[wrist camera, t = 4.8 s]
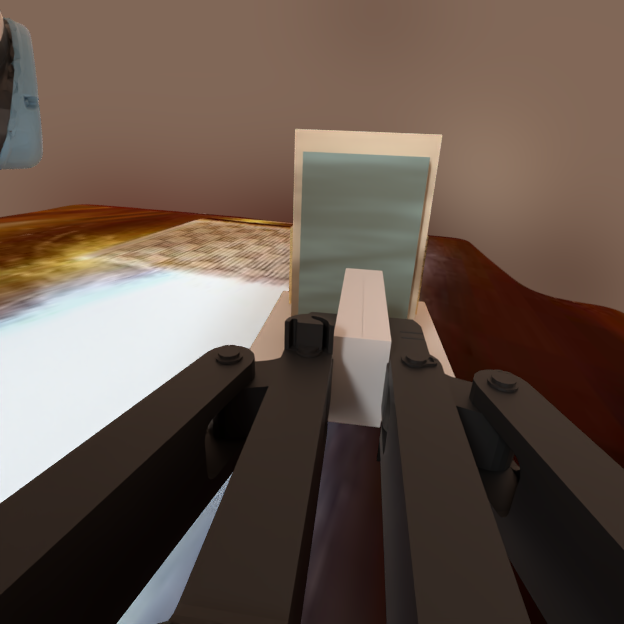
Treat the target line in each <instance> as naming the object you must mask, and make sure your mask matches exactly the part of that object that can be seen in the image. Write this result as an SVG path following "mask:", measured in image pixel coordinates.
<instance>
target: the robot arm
mask: <svg viewBox="0 0 624 624" xmlns="http://www.w3.org/2000/svg"><path fill="white" fill-rule="evenodd" d="M38 100H39V99H38V91H37V78H36V70H35V62H34V55H33V47H32V40H31V36H30V32H29V31H28V29H27V28H26V27H25V26H24V25H22V24H20V23H17V22H14V21H13V20H11V19H10V18H3V17H2V14H1V11H0V170H1V169H23V168H31V167H34V166H35V165H37V164H38V163H39V161H40V160H41V158H42V155H43V143H42V131H41V118H40V109H39V104H38ZM381 417H382V425H381V433H380V440H379V448H378V455H377V461H380V462H381V486H382V512H383V537H384V563H385V589H386V615H387V624H531V622H530V620H529V617H528V614H527V611H526V608H525V605H524V602H523V599H522V596H521V593H520V591H519V588H518V585H517V582H516V579H515V576H514V573H513V570H512V567H511V564H510V561H511V563H512V564H513V566H514V568H515V569H516V571H517V573H518V574H519V576H520V578H521V580H522V581H523V583H524V585H525V586H526V588H527V590H528V591H529V593H530V595H531V596H532V598H533V600H534V601H535V603H536V605H537V607H538V608H539V610H540V612H541V613H542V615H543V617H544V618H545V620H546V622H547V623H548V624H624V469H623V468H622V467H621V466H620V465H618V464H617V463H616V462H615V461H614V460H613V459H612V458H611V457H610V456H608V455H607V454H606V453H605V452H604V451H603V450H602V449H601V448H600V447H598V446H597V445H596V444H595V443H594V442H593V441H592V440H591V439H590V438H588V437H587V436H586V435H585V434H584V433H583V432H582V431H581V430H580V429H578V428H577V427H576V426H575V425H574V424H573V423H572V422H571V421H570V420H568V419H567V418H566V417H565V416H564V415H563V414H562V413H561V412H560V411H558V410H557V409H556V408H555V407H554V406H553V405H552V404H551V403H550V402H548V401H547V400H546V399H545V398H544V397H543V396H542V395H541V394H540V393H538V392H537V391H536V390H535V389H534V388H533V387H532V386H531V385H530V384H528V383H527V382H526V381H524V380H523V379H521V378H520V377H517V376H515V375H513V374H511V373H509V372H506V371H504V372H503V371H502V370H482V371H479V372H477V373H475V375H474V379H473V383H472V382H468V381H464V380H461V379H457V378H454V377H451V376H449V375H447V374H445V373H444V370H443V367H442V364H441V363H440V361H439V360H438V359H437V358H435V357H434V356H432V355H430V354H429V350H428V347H427V344H426V341H425V337H424V335H423V331H422V328H421V326H420V325H419V324H418V323H417V322H415V321H414V320H412V319H401V318H389V317H388V311H387V303H386V295H385V287H384V279H383V272H382V271H378V270H365V269H352V268H346V270H345V276H344V281H343V287H342V292H341V297H340V303H339V308H338V314H332V313H321V312H310V313H309V314H299V315H294V316H291V317H289V318H287V319H286V320H285V335H284V351H283V353H282V356H281V357H280V358H277V359H273V360H266V361H255V356H254V353H253V352H252V351H251V350H250V349H248V348H245V347H242V346H236V345H230V346H229V345H225V346H222V347H218V348H214V349H212V350H210V351H209V352H207V353H206V354H204V355H203V356H201V357H200V358H199V359H197V360H196V361H195V362H193V363H192V364H190V365H189V366H188V367H186V368H185V369H184V370H182V371H181V372H180V373H178V374H177V375H175V376H174V377H173V378H171V379H170V380H169V381H167V382H166V383H164V384H163V385H162V386H160V387H159V388H158V389H156V390H155V391H154V392H152V393H151V394H149V395H148V396H147V397H145V398H144V399H143V400H141V401H140V402H138V403H137V404H136V405H134V406H133V407H132V408H130V409H129V410H127V411H126V412H125V413H123V414H122V415H121V416H119V417H118V418H117V419H115V420H114V421H112V422H111V423H110V424H108V425H107V426H106V427H104V428H103V429H101V430H100V431H99V432H97V433H96V434H95V435H93V436H92V437H91V438H89V439H88V440H86V441H85V442H84V443H82V444H81V445H80V446H78V447H77V448H75V449H74V450H73V451H71V452H70V453H69V454H67V455H66V456H65V457H63V458H62V459H60V460H59V461H58V462H56V463H55V464H54V465H52V466H51V467H49V468H48V469H47V470H45V471H44V472H43V473H41V474H40V475H39V476H37V477H36V478H34V479H33V480H32V481H30V482H29V483H28V484H26V485H25V486H23V487H22V488H21V489H19V490H18V491H17V492H15V493H14V494H13V495H11V496H10V497H8V498H7V499H6V500H4V501H3V502H2V503H0V624H117V622H118V621H119V620H120V618H121V617H122V616H123V614H124V613H125V612H126V611H127V609H128V608H129V607H130V605H131V604H132V603H133V601H134V600H135V599H136V598H137V596H138V595H139V594H140V592H141V591H142V590H143V588H144V587H145V586H146V584H147V583H148V582H149V581H150V579H151V578H152V577H153V575H154V574H155V573H156V571H157V570H158V569H159V568H160V566H161V565H162V564H163V562H164V561H165V560H166V558H167V557H168V556H169V555H170V553H171V552H172V551H173V549H174V548H175V547H176V545H177V544H178V543H179V541H180V540H181V539H182V538H183V536H184V535H185V534H186V532H187V531H188V530H189V528H190V527H191V526H192V525H193V523H194V522H195V521H196V519H197V518H198V517H199V515H200V514H201V513H202V511H203V510H204V509H205V508H206V506H207V505H208V504H209V502H210V501H211V500H212V498H213V497H214V496H215V495H216V493H217V492H218V491H219V489H220V488H221V487H222V485H223V484H224V483H225V482H226V480H227V479H228V478H229V476H230V475H231V474H232V476H231V478H230V481H229V483H228V485H227V488H226V490H225V493H224V495H223V497H222V500H221V502H220V505H219V507H218V509H217V512H216V514H215V517H214V519H213V521H212V524H211V526H210V529H209V531H208V533H207V536H206V538H205V541H204V543H203V546H202V548H201V550H200V553H199V555H198V558H197V560H196V562H195V565H194V567H193V570H192V572H191V574H190V577H189V579H188V582H187V584H186V586H185V589H184V591H183V594H182V596H181V598H180V601H179V603H178V605H177V607H176V609H175V611H174V613H173V615H172V616H171V618H170V619H169V620H168V621H165V622H162V623H158V624H300V623H301V616H302V609H303V602H304V594H305V587H306V580H307V573H308V566H309V559H310V551H311V544H312V537H313V530H314V523H315V515H316V508H317V501H318V494H319V487H320V480H321V472H322V465H323V458H324V451H325V444H326V437H327V426H328V421H329V422H337V423H346V424H354V425H363V426H371V427H380V423H381ZM514 454H515V455H516V457H517V459H518V462H519V465H520V467H519V466H518V465H517V464H516V463H515V462H514V460H513V458H514ZM232 472H233V473H232ZM508 558H509V559H510V561H509V559H508Z"/></svg>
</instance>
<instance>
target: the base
mask: <svg viewBox="0 0 624 624" xmlns="http://www.w3.org/2000/svg"><path fill="white" fill-rule="evenodd" d="M289 317H291V304H289V291H283V293H282V294H281V296H280V298H279V299H278V301H277V303H276V305H275V306H274V308H273V310H272V311H271V313H270V315H269V317H268V318H267V320H266V322H265V324H264V325H263V327H262V329H261V330H260V332H259V334H258V336H257V337H256V339H255V341H254V342H253V344H252V346H251V348H250V350H251V351H252V352H253V353H254V356H255V361H266V360H273V359H277V358H280V357H281V356H282V353H283V351H284V335H285V320H286V319H287V318H289ZM414 321H415V322H417V323H418V324H419V325H420V326H421V328H422V331H423V335H424V337H425V341H426V344H427V347H428V350H429V354H430V355H432V356H434V357H435V358H437V359H438V360H439V361H440V363H441V364H442V367H443V370H444V373H445V374H447V375H449V376H451V377H454V378H455V376H454V374H453V371H452V369H451V366H450V364H449V361H448V359H447V356H446V354H445V351H444V349H443V347H442V344H441V342H440V339H439V337H438V334H437V332H436V329H435V327H434V324H433V322H432V320H431V317H430V315H429V312H428V310H427V307H426V305H425V302H418V309H417V314H415V318H414ZM381 421H382V417H381Z"/></svg>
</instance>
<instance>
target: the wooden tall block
mask: <svg viewBox="0 0 624 624" xmlns="http://www.w3.org/2000/svg"><path fill="white" fill-rule="evenodd" d="M441 140H442V135H434V134H408V133H383V132H359V131H333V130H308V129H307V130H306V129H295V164H294V208H293V211H294V212H293V252H292V296H291V316H294V315H299V314H309V313H310V312H321V313H332V314H338V308H339V303H340V297H341V292H342V287H343V281H344V276H345V270H346V268H352V269H365V270H378V271H382V272H383V279H384V287H385V295H386V303H387V311H388V317H389V318H401V319H412V320H414V318H415V312H416V305H417V298H418V292H419V285H420V279H421V272H422V266H423V259H424V252H425V246H426V239H427V232H428V226H429V219H430V213H431V206H432V200H433V193H434V186H435V179H436V173H437V167H438V160H439V153H440V147H441Z"/></svg>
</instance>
